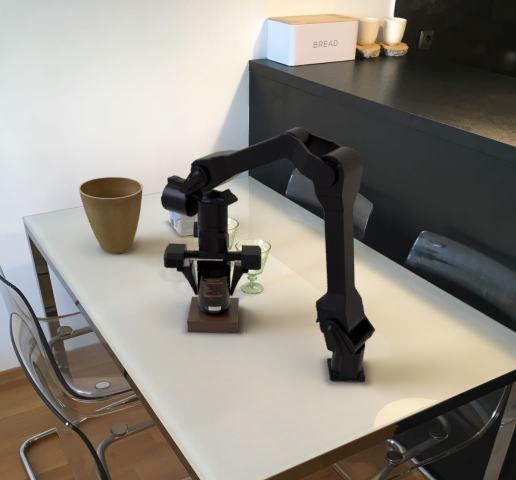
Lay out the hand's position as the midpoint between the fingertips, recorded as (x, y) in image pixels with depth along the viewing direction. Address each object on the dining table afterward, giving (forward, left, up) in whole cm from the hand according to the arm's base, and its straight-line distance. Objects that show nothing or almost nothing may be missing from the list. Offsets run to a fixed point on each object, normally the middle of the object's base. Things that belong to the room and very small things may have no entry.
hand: (214, 294), depth 121 cm
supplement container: (0, 0, -3) cm, 3 cm away
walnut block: (0, 0, -6) cm, 6 cm away
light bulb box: (+47, +11, -6) cm, 49 cm away
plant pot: (+33, +27, -6) cm, 43 cm away
